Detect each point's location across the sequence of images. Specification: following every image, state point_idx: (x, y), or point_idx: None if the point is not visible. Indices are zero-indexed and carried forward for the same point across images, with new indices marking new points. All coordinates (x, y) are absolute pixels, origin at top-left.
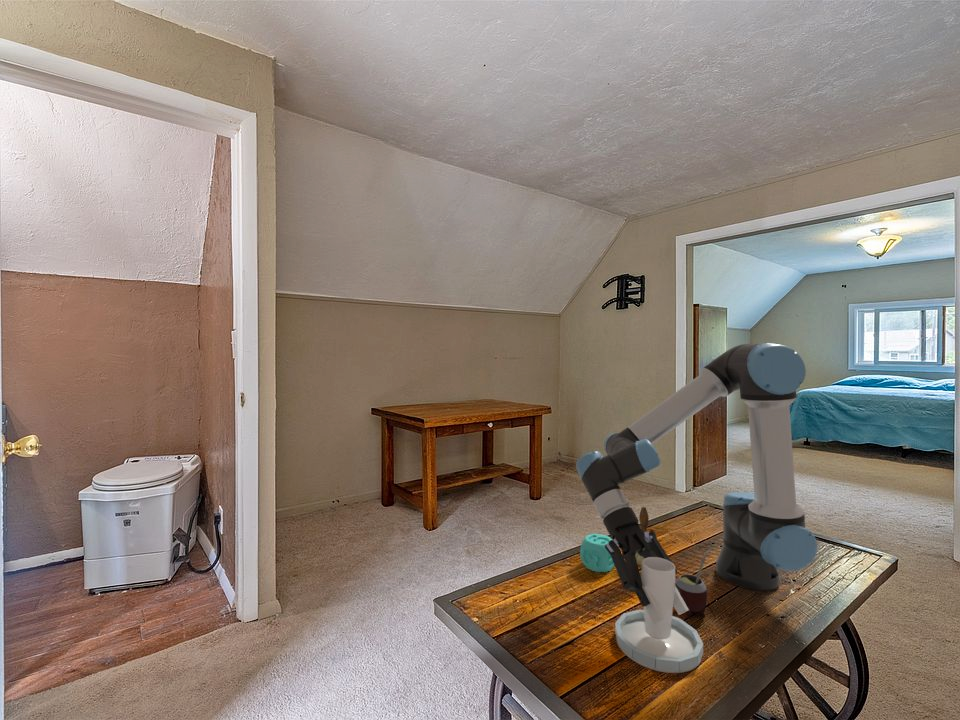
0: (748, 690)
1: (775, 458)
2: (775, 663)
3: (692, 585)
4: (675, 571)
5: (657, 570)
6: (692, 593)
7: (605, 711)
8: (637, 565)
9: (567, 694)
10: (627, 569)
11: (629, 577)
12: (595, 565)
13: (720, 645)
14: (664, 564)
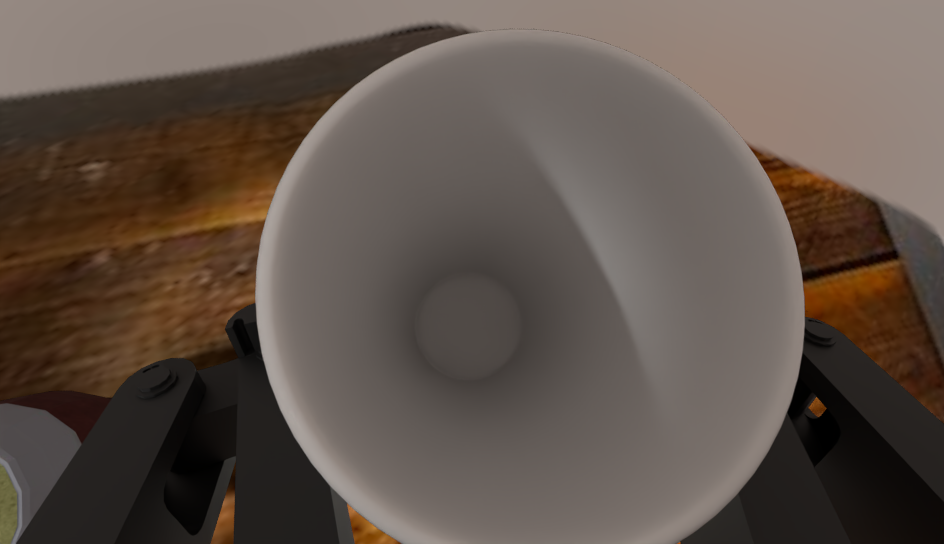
0: (366, 58)
1: None
2: (158, 93)
3: (10, 454)
4: (167, 371)
5: (711, 111)
6: (76, 427)
7: (800, 166)
8: (745, 502)
9: (875, 256)
10: (930, 463)
11: (865, 376)
12: None
13: (242, 231)
14: (318, 367)
